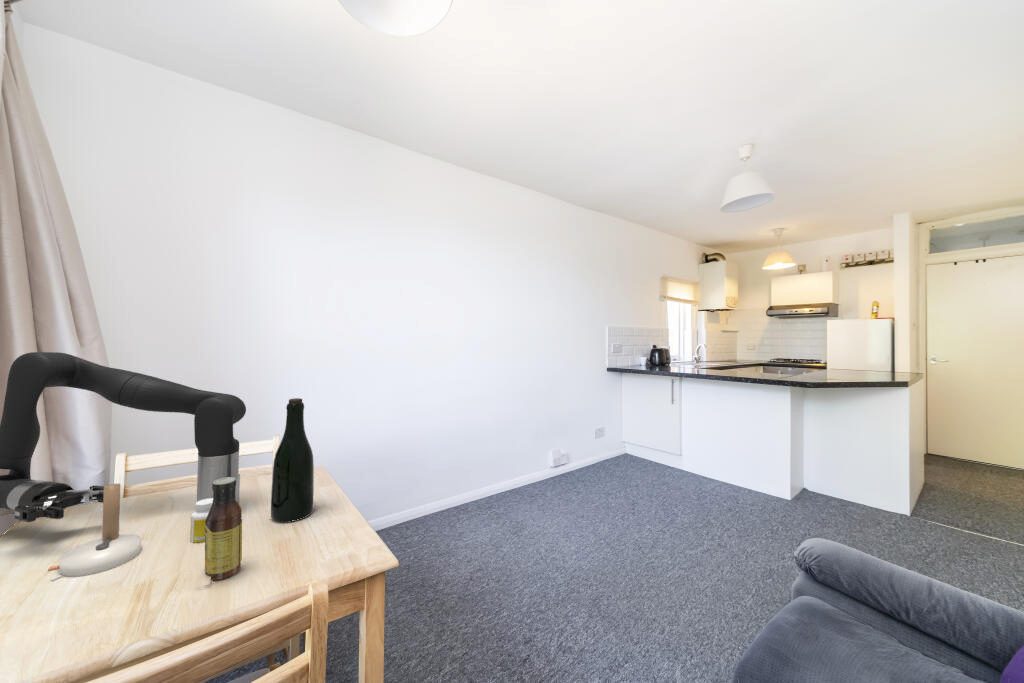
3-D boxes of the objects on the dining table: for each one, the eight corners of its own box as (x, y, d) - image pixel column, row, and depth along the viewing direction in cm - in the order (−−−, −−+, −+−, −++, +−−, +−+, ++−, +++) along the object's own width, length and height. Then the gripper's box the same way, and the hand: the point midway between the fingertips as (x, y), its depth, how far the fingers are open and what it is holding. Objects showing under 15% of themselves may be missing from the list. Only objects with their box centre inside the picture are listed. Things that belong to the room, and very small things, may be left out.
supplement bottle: (223, 539, 93) (224, 499, 94) (197, 549, 89) (198, 508, 89) (210, 534, 96) (212, 495, 96) (185, 544, 91) (186, 503, 91)
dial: (130, 566, 80) (132, 497, 80) (45, 583, 74) (48, 508, 74) (147, 540, 90) (149, 479, 90) (74, 553, 84) (77, 488, 84)
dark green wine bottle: (273, 527, 100) (276, 402, 100) (268, 513, 108) (271, 397, 108) (316, 516, 106) (320, 399, 107) (309, 504, 115) (312, 395, 115)
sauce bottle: (217, 564, 83) (220, 474, 83) (248, 564, 83) (250, 473, 84) (195, 583, 76) (198, 485, 77) (228, 582, 77) (231, 484, 77)
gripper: (-6, 493, 85) (43, 502, 81) (80, 472, 99) (125, 479, 95) (-7, 526, 85) (42, 537, 81) (79, 501, 99) (124, 509, 95)
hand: (87, 505), depth 88 cm, fingers open, 8 cm apart
